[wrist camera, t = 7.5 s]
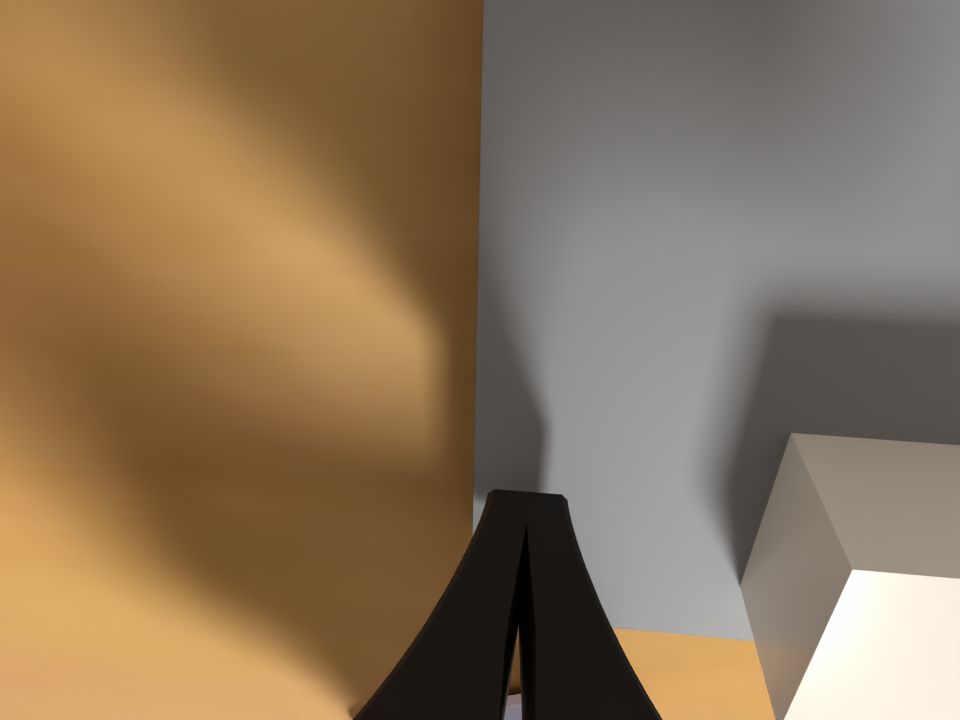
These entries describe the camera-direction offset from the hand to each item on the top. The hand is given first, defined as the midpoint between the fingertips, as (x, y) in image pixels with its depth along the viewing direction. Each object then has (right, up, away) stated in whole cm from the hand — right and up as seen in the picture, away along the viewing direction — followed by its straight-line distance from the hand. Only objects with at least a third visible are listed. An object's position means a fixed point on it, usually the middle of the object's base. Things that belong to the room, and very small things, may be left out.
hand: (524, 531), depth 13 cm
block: (+6, -1, -1) cm, 7 cm away
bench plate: (+5, +4, +1) cm, 7 cm away
